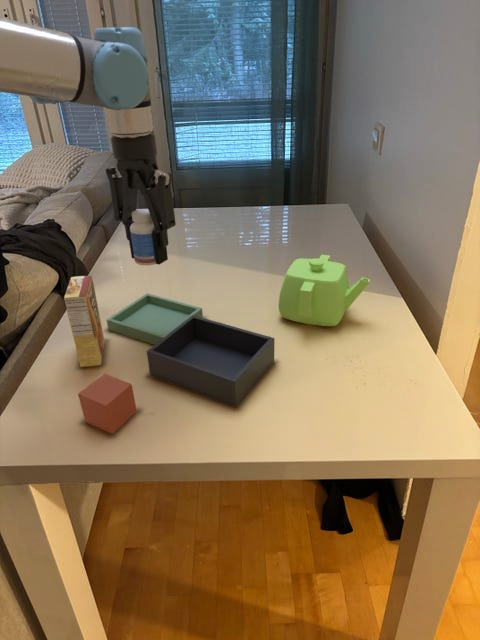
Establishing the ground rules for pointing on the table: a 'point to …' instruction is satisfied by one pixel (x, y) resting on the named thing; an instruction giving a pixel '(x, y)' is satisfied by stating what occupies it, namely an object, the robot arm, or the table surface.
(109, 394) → the block
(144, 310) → the medicine tray
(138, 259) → the pill bottle
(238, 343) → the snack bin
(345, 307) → the teapot
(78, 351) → the candy box
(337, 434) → the table surface
